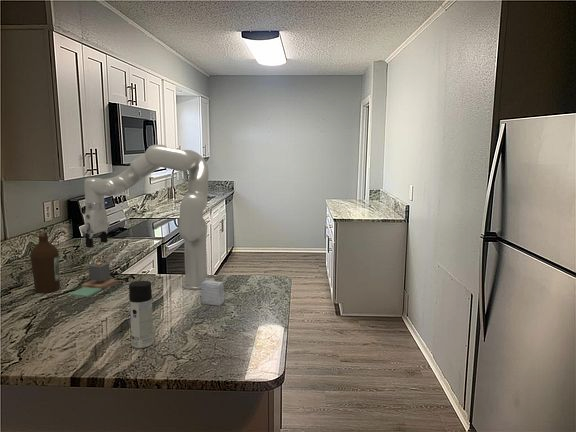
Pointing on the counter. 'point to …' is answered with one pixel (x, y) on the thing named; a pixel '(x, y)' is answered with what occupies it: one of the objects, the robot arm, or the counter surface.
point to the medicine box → (212, 292)
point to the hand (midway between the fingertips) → (97, 244)
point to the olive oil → (45, 265)
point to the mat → (85, 292)
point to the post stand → (100, 283)
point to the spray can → (141, 314)
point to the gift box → (99, 271)
